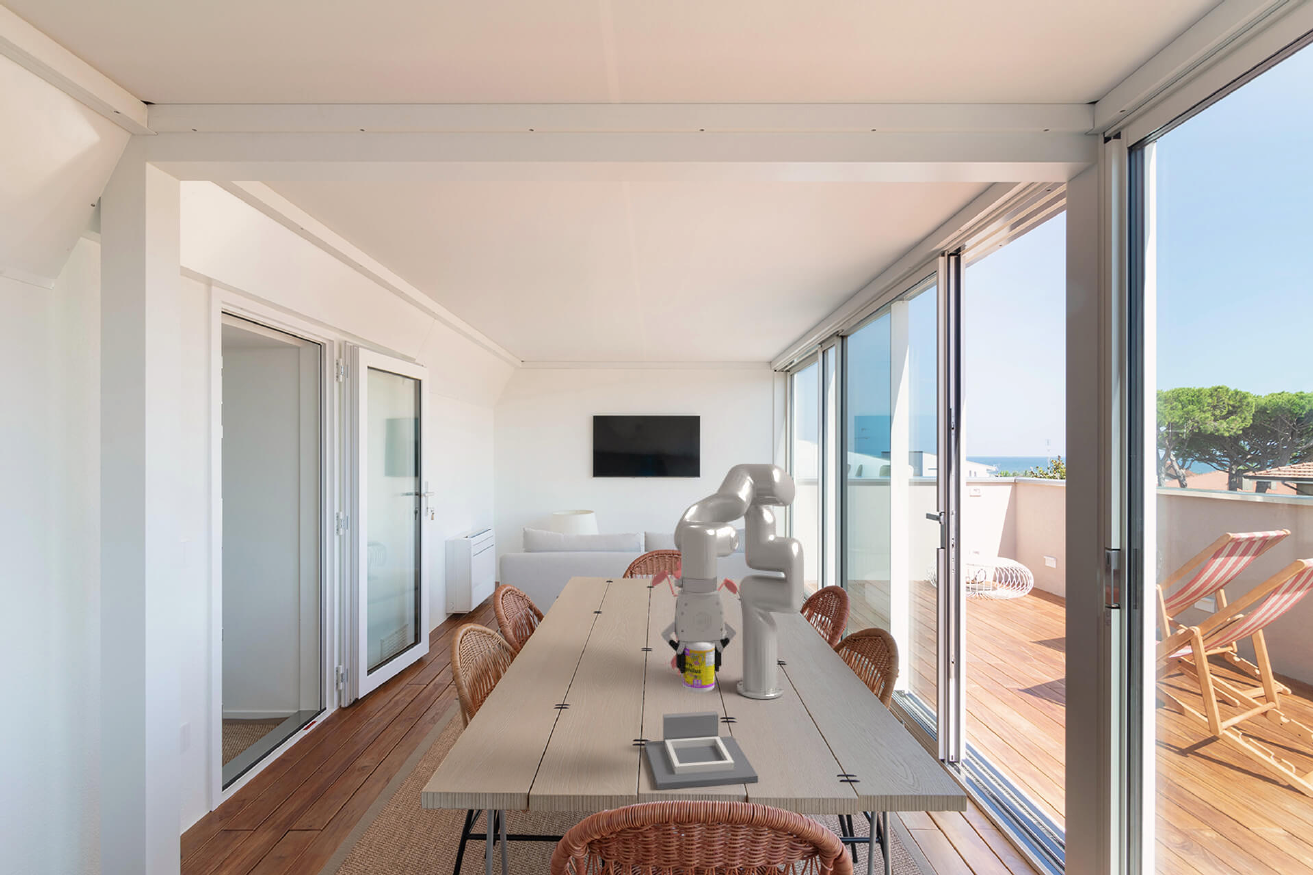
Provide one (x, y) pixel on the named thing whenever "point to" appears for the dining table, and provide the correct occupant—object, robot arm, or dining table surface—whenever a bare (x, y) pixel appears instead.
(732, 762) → the dock
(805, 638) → the dining table surface
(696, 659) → the supplement bottle
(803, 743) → the dining table surface
